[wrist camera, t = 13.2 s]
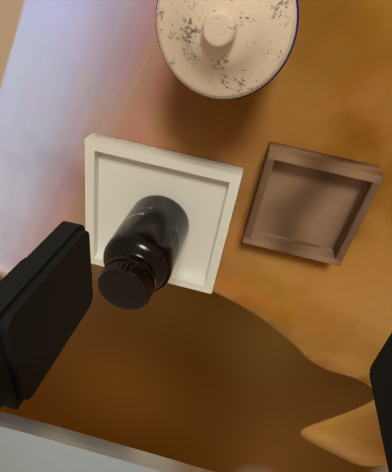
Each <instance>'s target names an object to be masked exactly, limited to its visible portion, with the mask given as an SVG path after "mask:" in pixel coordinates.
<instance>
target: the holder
mask: <svg viewBox="0 0 392 472" xmlns="http://www.w3.org/2000/svg"><path fill="white" fill-rule="evenodd" d="M383 179H384V176H383V174H382V172H381V170H380V168H379V167H378V166H375V165H371V164H366V163H362V162H357V161H353V160H349V159H344V158H340V157H335V156H331V155H327V154H322V153H318V152H313V151H309V150H305V149H300V148H296V147H291V146H287V145H282V144H278V143H274V142H270V143H269V147H268V150H267V153H266V157H265V160H264V164H263V167H262V171H261V174H260V178H259V181H258V184H257V188H256V191H255V195H254V198H253V202H252V205H251V209H250V212H249V215H248V219H247V222H246V226H245V229H244V235H243V243H247V244H251V245H255V246H259V247H263V248H268V249H272V250H276V251H280V252H284V253H288V254H292V255H296V256H300V257H304V258H308V259H312V260H316V261H321V262H325V263H329V264H333V265H337V266H340V264H341V262H342V260H343V258H344V256H345V254H346V252H347V250H348V248H349V246H350V244H351V242H352V240H353V238H354V236H355V234H356V232H357V230H358V228H359V226H360V224H361V223H362V221H363V219H364V217H365V215H366V213H367V211H368V209H369V207H370V205H371V203H372V201H373V199H374V197H375V195H376V193H377V191H378V189H379V187H380V185H381V183H382V181H383Z"/></svg>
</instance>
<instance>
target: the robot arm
mask: <svg viewBox="0 0 392 472" xmlns="http://www.w3.org/2000/svg"><path fill="white" fill-rule="evenodd" d="M92 298H93V291H92V272H91V253H90V236H89V232H88V231H85V228H84V226H83V225H80V224H75V223H71V222H66V221H63V222H62V223H61V224H60V225H59V226H58V227H57V228H56V229H55V230H54V231H53V232H52V233H51V234H50V235H49V236H48V237H47V238H46V239H45V240H44V241H43V242H42V243H41V244H40V245H39V246H38V247H37V248H36V249H35V250H34V251H33V252H32V253H31V254H30V255H29V256H28V257H27V258H24V259H23V260H22V261H20V262H19V263H18V264H17V265H16V266H15V267H14V268H13V269H12V270H11V271H10V272H9V273H8V274H7V275H6V276H5V277H4V278H3V279H2V280H1V281H0V407H1V406H5V407H9V408H12V409H15V410H17V409H18V408H19V406H20V405H21V403H22V402H23V400H24V399H26V400H28V399H30V398H31V397H32V396H33V394H34V393H35V391H36V390H37V388H38V386H39V385H40V383H41V382H42V380H43V379H44V377H45V375H46V374H47V372H48V371H49V369H50V368H51V366H52V365H53V363H54V361H55V360H56V358H57V357H58V355H59V353H60V352H61V351H62V349H63V347H64V346H65V344H66V343H67V341H68V340H69V338H70V336H71V335H72V333H73V332H74V330H75V329H76V327H77V326H78V324H79V323H80V321H81V319H82V318H83V316H84V315H85V313H86V312H87V310H88V308H89V307H90V305H91V302H92ZM370 380H371V385H372V390H373V395H374V400H375V405H376V410H377V415H378V420H379V425H380V430H381V435H382V440H383V445H384V450H385V455H386V460H387V464H388V469H389V472H392V333H391V335H390V337H389V338H388V340H387V341H386V343H385V345H384V346H383V348H382V349H381V351H380V352H379V354H378V356H377V357H376V359H375V360H374V362H373V364H372V366H371V369H370ZM0 472H213V471H209V470H206V469H202V468H199V467H196V466H192V465H189V464H185V463H182V462H178V461H175V460H171V459H168V458H164V457H161V456H158V455H154V454H151V453H147V452H143V451H140V450H137V449H133V448H130V447H126V446H123V445H119V444H116V443H112V442H109V441H105V440H102V439H98V438H95V437H92V436H88V435H85V434H81V433H78V432H74V431H71V430H67V429H64V428H60V427H56V426H53V425H49V424H45V423H42V422H38V421H34V420H30V419H26V418H23V417H19V416H15V415H12V414H8V413H4V412H0Z"/></svg>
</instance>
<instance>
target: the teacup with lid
mask: <svg viewBox="0 0 392 472" xmlns="http://www.w3.org/2000/svg"><path fill="white" fill-rule="evenodd" d="M298 22H299V7H298V0H157V7H156V33H157V39H158V43H159V47H160V49H161V52H162V55H163V57H164V59H165V61H166V63H167V65H168V67H169V68H170V70H171V71H172V73H173V74H174V75H175V76H176V77H177V78H178V79H179V80H180V81H181V82H182V83H183V84H184V85H185V86H186V87H188V88H189V89H191V90H192V91H194V92H196V93H198V94H200V95H202V96H205V97H208V98H213V99H219V100H230V99H237V98H241V97H245V96H248V95H250V94H252V93H254V92H256V91H258V90H260V89H261V88H263V87H264V86H265V85H267V84H268V83H269V82H270V81H271V80H272V79H273V78H274V77H275V76H276V75H277V74H278V73H279V71H280V70H281V69H282V67H283V66H284V64H285V63H286V61H287V59H288V57H289V55H290V53H291V51H292V48H293V46H294V43H295V39H296V35H297V30H298Z"/></svg>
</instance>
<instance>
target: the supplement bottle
mask: <svg viewBox="0 0 392 472" xmlns="http://www.w3.org/2000/svg"><path fill="white" fill-rule="evenodd" d="M188 231H189V220H188V217H187V214H186V213H185V211H184V209H183V208H182V207H181V206H180V205H179V204H178V203H177V202H175V201H174V200H172V199H170V198H168V197H165V196H160V195H151V196H147V197H144V198H142V199H140V200H139V201H138V202H137V203H136V204H135V205H134V206H133V208H132V209H131V210H130V212H129V213H128V215H127V216H126V217H125V219H124V220H123V222H122V223H121V225H120V226H119V228H118V229H117V230H116V232H115V233H114V235H113V236H112V238H111V239H110V241H109V242H108V244H107V245H106V247H105V250H104V253H103V262H104V269H103V271H102V273H101V274H100V277H99V279H98V288H99V291H100V292H101V295H102V296H103V297H104V299H106V300H107V301H108V302H109V303H111V304H112V305H115V306H116V307H119V308H121V309H126V310H136V309H140V308H141V307H144V305H146V304H147V302H148V301H149V299H150V297H151V295H152V294H153V292H154V291H157V290H158V289H160V288H162V287H163V286H164V285H165V284H166V283H167V282H168V281H169V279H170V277H171V275H172V272H173V270H174V267H175V265H176V262H177V260H178V257H179V255H180V252H181V250H182V247H183V245H184V242H185V240H186V237H187V234H188Z"/></svg>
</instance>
